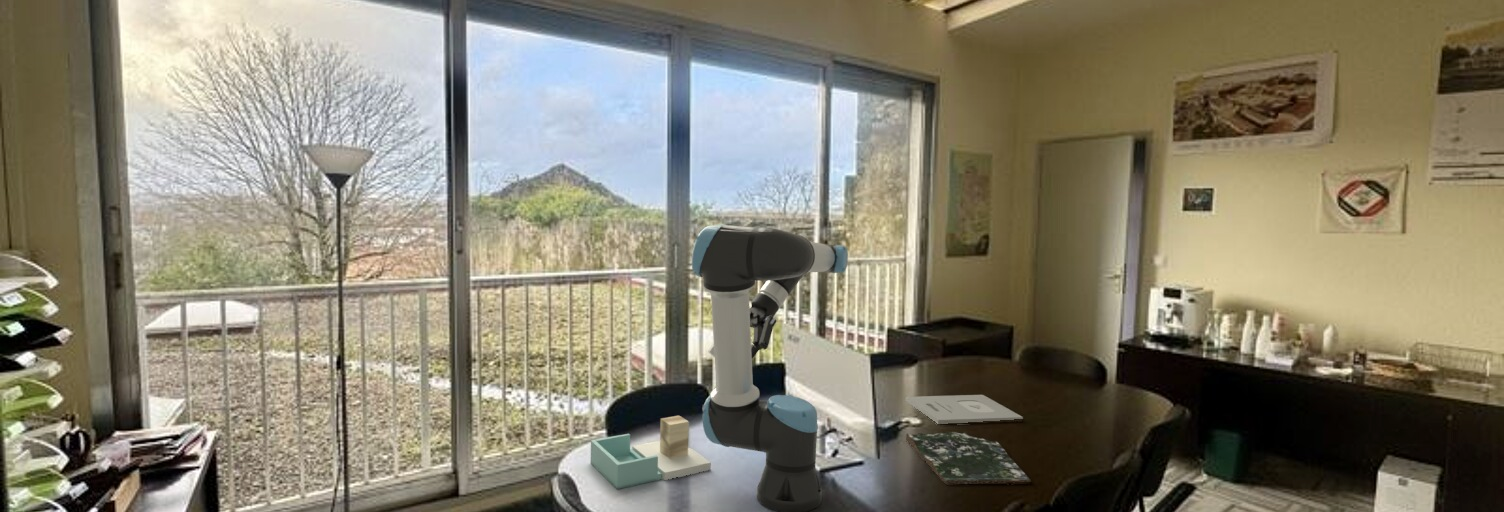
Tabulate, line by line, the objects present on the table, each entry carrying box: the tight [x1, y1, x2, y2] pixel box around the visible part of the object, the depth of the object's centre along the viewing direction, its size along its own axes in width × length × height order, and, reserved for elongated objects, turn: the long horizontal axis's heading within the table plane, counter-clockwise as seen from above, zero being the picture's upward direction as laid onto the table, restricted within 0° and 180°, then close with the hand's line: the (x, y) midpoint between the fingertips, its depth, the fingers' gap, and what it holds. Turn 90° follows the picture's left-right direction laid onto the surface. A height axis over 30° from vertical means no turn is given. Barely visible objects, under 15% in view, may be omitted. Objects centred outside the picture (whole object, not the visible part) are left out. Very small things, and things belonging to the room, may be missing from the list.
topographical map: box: [905, 431, 1032, 486], centre depth 183 cm, size 26×33×3 cm
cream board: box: [631, 440, 712, 481], centre depth 175 cm, size 20×13×2 cm, turn 34°
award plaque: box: [905, 394, 1024, 425], centre depth 225 cm, size 25×30×2 cm
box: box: [590, 433, 662, 490], centre depth 167 cm, size 18×12×6 cm, turn 34°
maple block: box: [659, 415, 690, 459], centre depth 175 cm, size 6×6×9 cm
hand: (725, 360), depth 181 cm, fingers open, 13 cm apart
